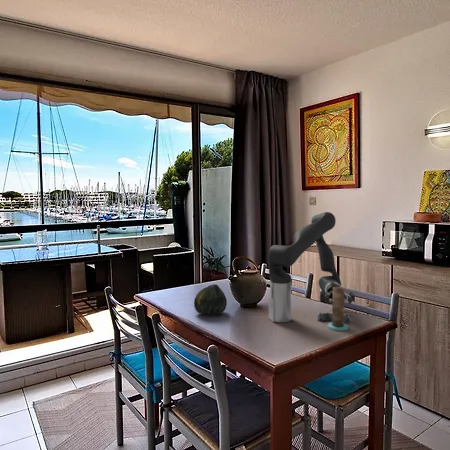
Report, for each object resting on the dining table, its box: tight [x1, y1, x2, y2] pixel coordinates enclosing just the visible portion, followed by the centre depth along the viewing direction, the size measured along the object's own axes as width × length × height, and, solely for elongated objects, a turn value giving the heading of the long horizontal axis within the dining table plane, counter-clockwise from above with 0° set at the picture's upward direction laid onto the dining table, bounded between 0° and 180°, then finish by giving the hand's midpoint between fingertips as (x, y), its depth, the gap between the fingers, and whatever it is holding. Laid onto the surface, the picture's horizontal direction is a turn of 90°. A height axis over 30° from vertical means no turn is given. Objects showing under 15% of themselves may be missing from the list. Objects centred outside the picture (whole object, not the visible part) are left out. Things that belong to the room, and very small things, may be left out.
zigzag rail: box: [317, 312, 350, 323], centre depth 170 cm, size 14×5×3 cm, turn 86°
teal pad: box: [327, 322, 349, 332], centre depth 161 cm, size 8×8×1 cm
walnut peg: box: [331, 286, 345, 327], centre depth 161 cm, size 5×5×16 cm
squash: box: [193, 283, 228, 316], centre depth 180 cm, size 14×15×15 cm
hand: (339, 301), depth 159 cm, fingers open, 8 cm apart
